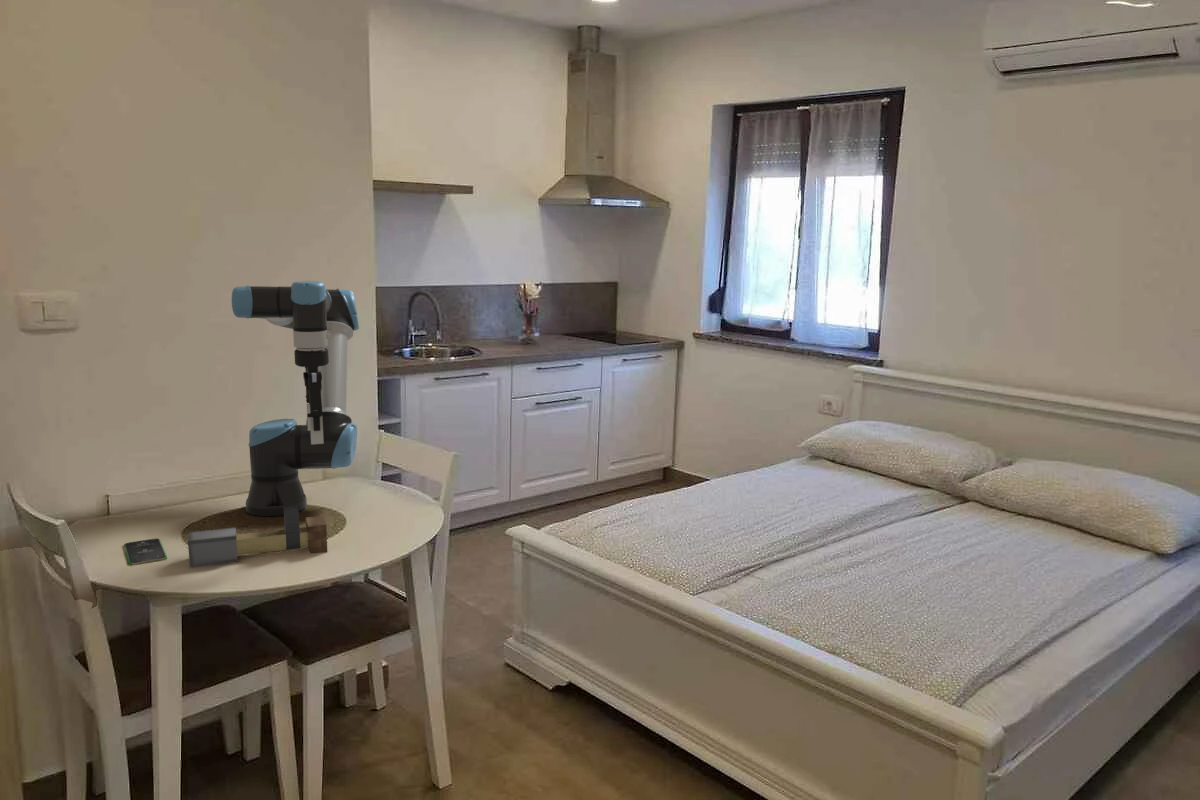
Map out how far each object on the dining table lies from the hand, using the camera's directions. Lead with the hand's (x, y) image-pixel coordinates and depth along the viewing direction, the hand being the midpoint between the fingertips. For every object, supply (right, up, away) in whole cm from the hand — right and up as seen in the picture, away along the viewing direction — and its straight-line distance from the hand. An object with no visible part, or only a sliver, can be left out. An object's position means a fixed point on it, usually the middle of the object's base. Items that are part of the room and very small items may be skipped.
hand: (315, 436), depth 204 cm
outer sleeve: (-18, -27, -14) cm, 35 cm away
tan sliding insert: (-6, -25, -9) cm, 27 cm away
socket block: (+2, -26, -6) cm, 26 cm away
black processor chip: (-35, -26, -10) cm, 45 cm away
